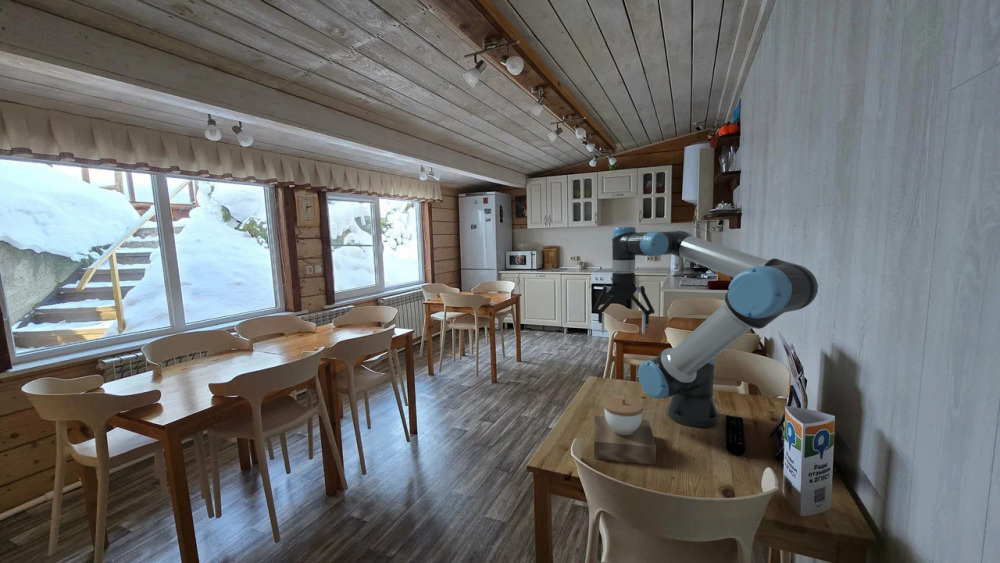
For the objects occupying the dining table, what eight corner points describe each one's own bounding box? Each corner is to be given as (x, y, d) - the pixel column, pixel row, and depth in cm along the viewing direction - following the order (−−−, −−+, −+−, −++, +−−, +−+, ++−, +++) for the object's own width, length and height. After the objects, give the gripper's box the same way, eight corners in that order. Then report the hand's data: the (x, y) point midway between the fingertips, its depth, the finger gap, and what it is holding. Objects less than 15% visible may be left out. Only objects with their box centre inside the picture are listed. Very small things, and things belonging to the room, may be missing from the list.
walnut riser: (648, 435, 124) (648, 419, 123) (655, 464, 108) (656, 447, 108) (594, 430, 127) (594, 415, 127) (594, 458, 112) (594, 441, 111)
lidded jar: (637, 443, 110) (638, 409, 109) (598, 433, 115) (598, 402, 114) (646, 426, 119) (647, 395, 118) (610, 418, 125) (610, 389, 123)
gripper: (660, 270, 140) (659, 331, 142) (586, 271, 146) (586, 329, 148) (664, 273, 133) (662, 336, 135) (586, 273, 139) (586, 334, 141)
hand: (622, 332), depth 142 cm, fingers open, 13 cm apart
